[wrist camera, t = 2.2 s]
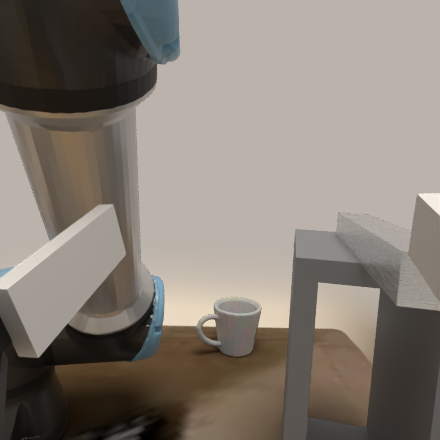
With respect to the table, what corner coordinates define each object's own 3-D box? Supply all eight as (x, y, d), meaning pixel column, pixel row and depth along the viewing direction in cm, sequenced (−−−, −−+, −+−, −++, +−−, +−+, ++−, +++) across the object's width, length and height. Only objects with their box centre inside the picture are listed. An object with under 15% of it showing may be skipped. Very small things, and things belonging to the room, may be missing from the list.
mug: (268, 354, 70) (271, 309, 68) (206, 371, 63) (208, 321, 61) (242, 333, 79) (244, 294, 78) (185, 346, 72) (187, 302, 71)
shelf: (435, 603, 29) (480, 273, 25) (275, 557, 32) (295, 257, 28) (380, 440, 47) (401, 236, 44) (282, 420, 50) (295, 229, 47)
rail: (470, 314, 17) (478, 257, 16) (396, 305, 17) (402, 251, 17) (364, 237, 42) (366, 214, 42) (336, 235, 43) (338, 212, 42)
